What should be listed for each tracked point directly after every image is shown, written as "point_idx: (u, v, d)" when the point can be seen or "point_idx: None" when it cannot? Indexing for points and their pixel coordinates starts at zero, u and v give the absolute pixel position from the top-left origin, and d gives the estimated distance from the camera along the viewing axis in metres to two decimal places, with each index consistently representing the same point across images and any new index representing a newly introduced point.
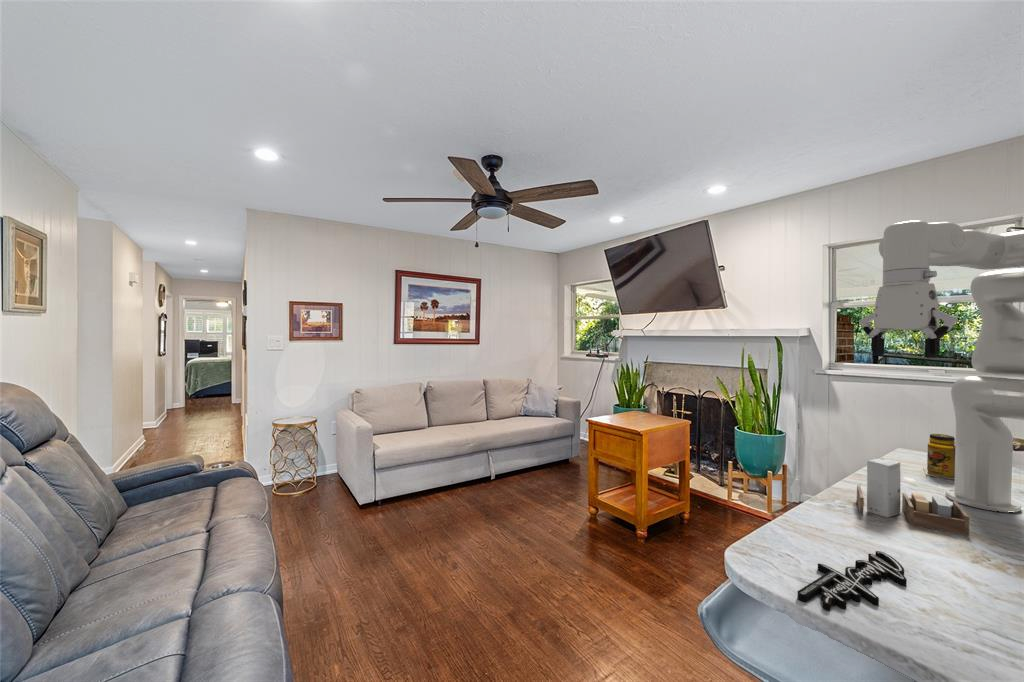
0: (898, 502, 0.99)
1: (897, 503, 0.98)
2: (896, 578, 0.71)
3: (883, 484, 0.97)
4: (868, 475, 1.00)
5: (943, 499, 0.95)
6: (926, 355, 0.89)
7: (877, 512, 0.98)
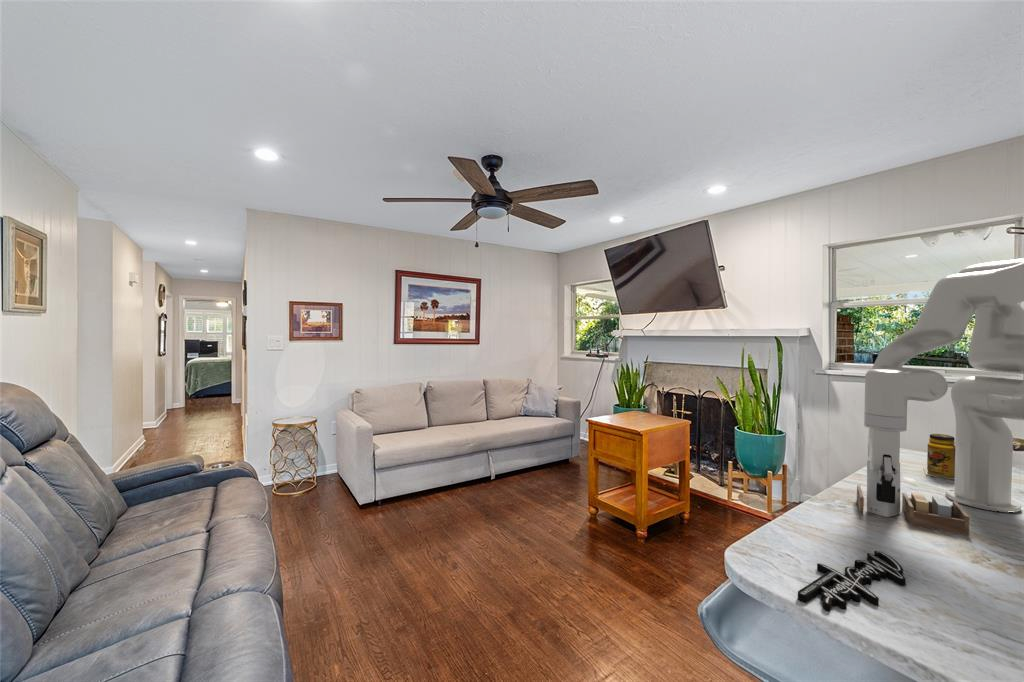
0: (898, 501, 0.99)
1: (897, 503, 0.98)
2: (895, 578, 0.71)
3: None
4: (868, 475, 1.00)
5: (943, 499, 0.95)
6: None
7: (877, 512, 0.98)
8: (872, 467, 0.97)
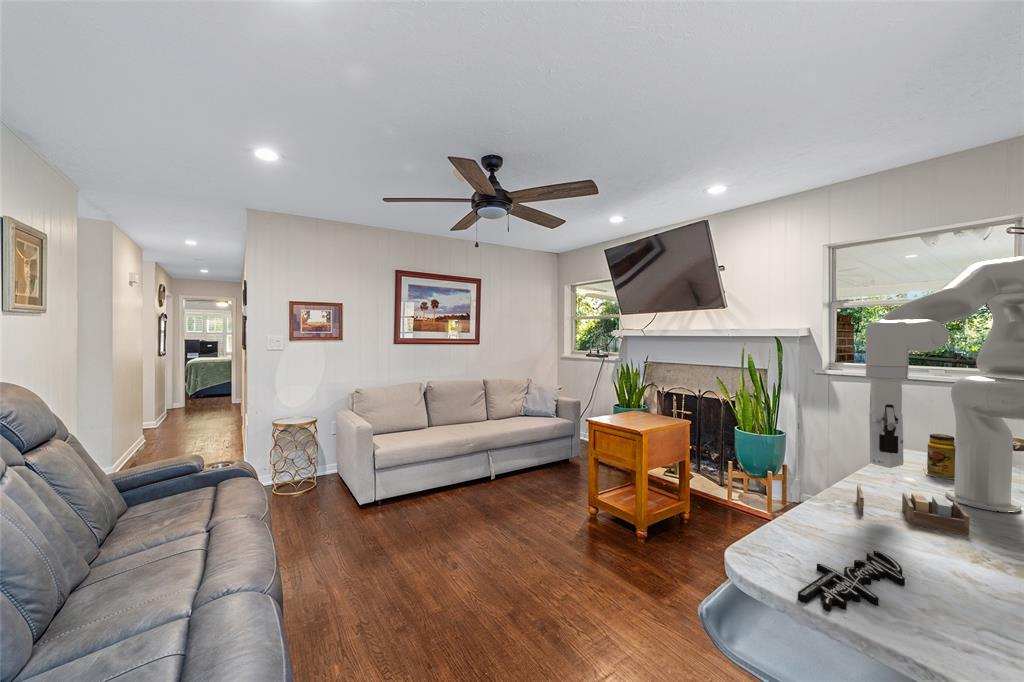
0: (901, 453, 0.99)
1: (900, 454, 0.98)
2: (895, 578, 0.72)
3: None
4: (870, 427, 1.00)
5: (943, 499, 0.95)
6: None
7: (880, 463, 0.98)
8: (874, 418, 0.97)
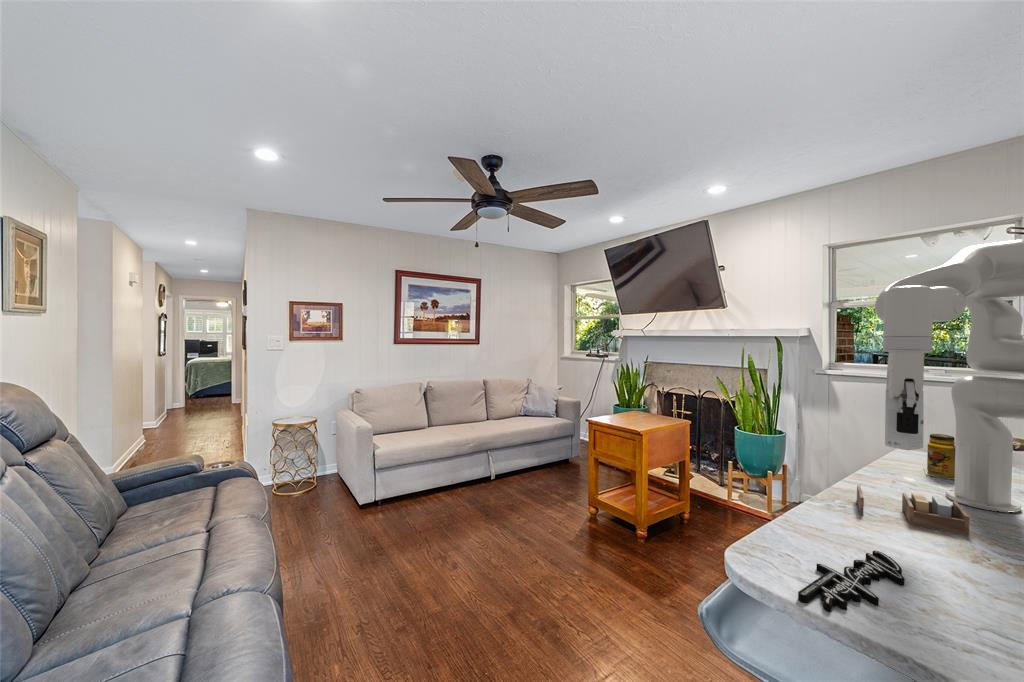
0: (921, 434, 0.88)
1: (920, 436, 0.87)
2: (894, 577, 0.72)
3: None
4: (886, 405, 0.89)
5: (943, 499, 0.95)
6: None
7: (897, 445, 0.87)
8: (892, 394, 0.86)
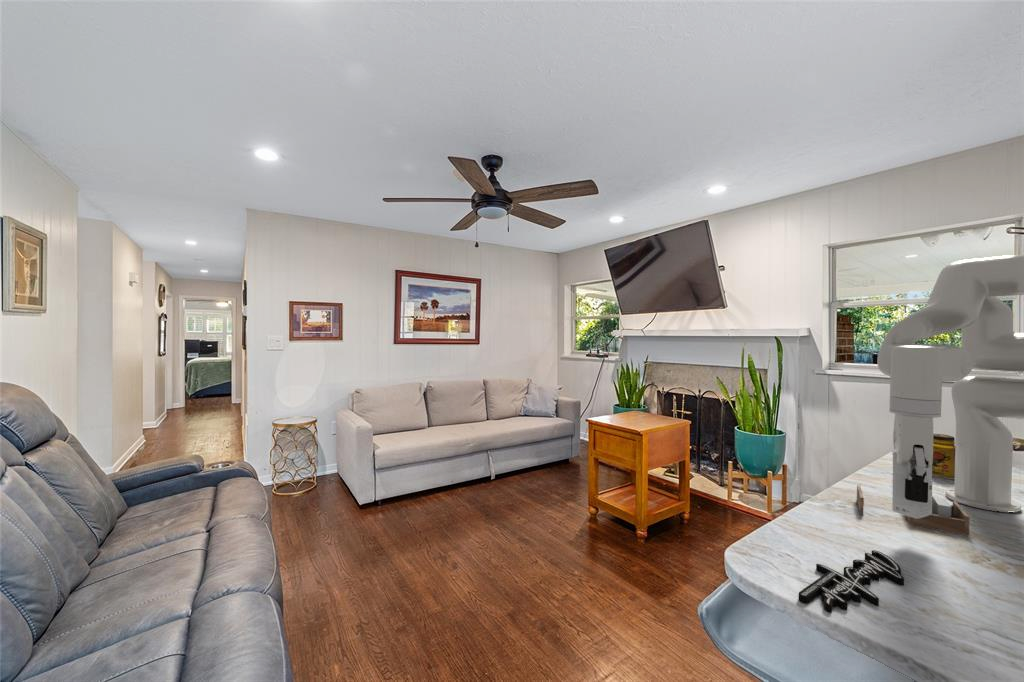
0: (930, 500, 0.84)
1: (928, 502, 0.84)
2: (894, 577, 0.72)
3: None
4: (894, 469, 0.85)
5: (943, 499, 0.95)
6: None
7: (905, 512, 0.84)
8: (900, 460, 0.83)
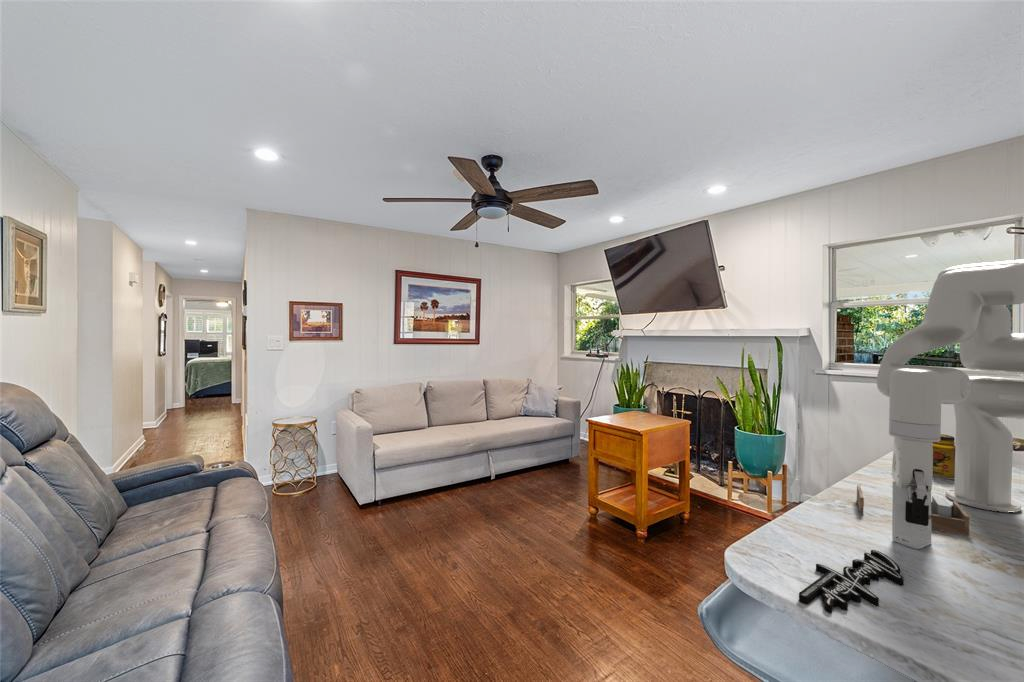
0: (929, 530, 0.85)
1: (928, 532, 0.84)
2: (893, 577, 0.72)
3: None
4: (894, 499, 0.86)
5: (943, 499, 0.95)
6: None
7: (905, 542, 0.84)
8: (900, 484, 0.83)
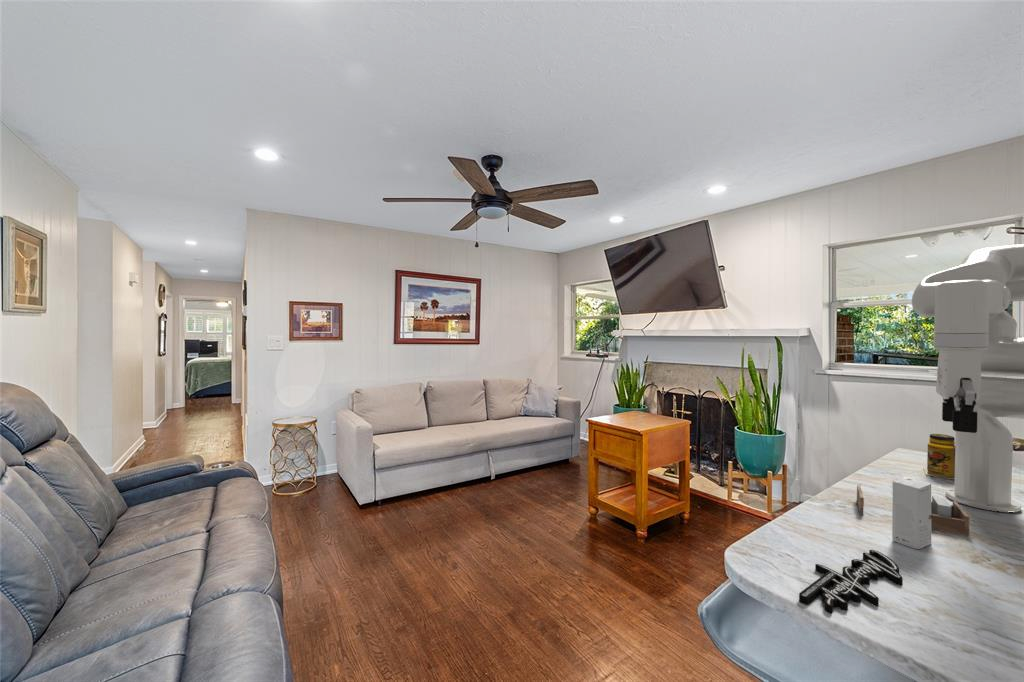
0: (929, 530, 0.85)
1: (928, 532, 0.84)
2: (892, 577, 0.72)
3: (912, 510, 0.83)
4: (894, 499, 0.86)
5: (943, 499, 0.95)
6: None
7: (905, 542, 0.84)
8: (946, 394, 0.83)
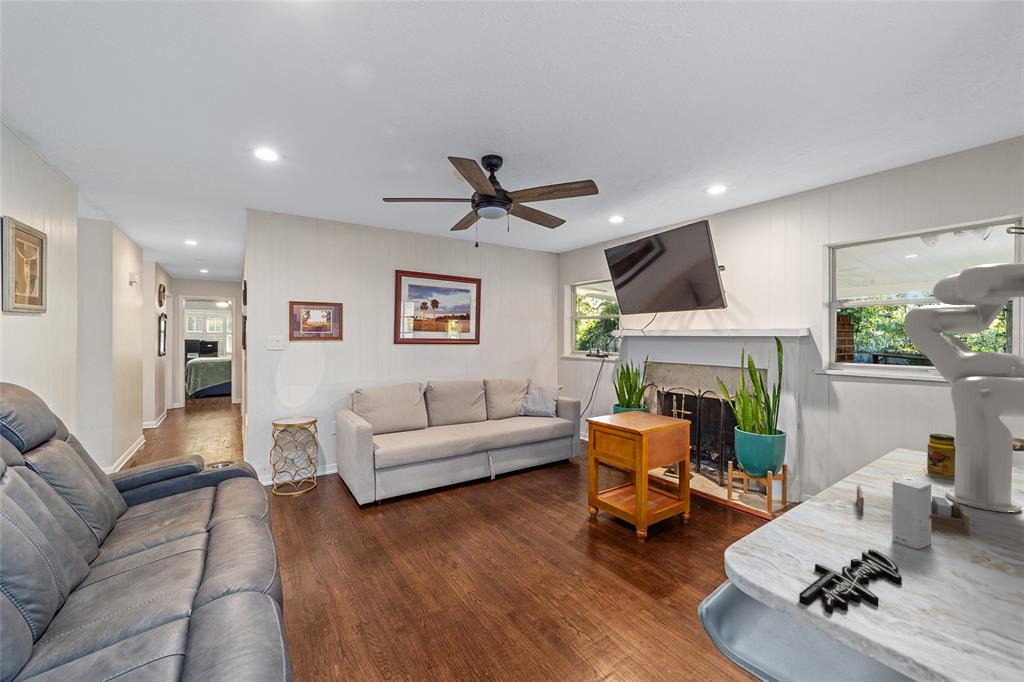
0: (929, 530, 0.85)
1: (928, 532, 0.84)
2: (891, 576, 0.72)
3: (912, 510, 0.83)
4: (894, 499, 0.86)
5: (943, 499, 0.95)
6: None
7: (905, 542, 0.84)
8: None
